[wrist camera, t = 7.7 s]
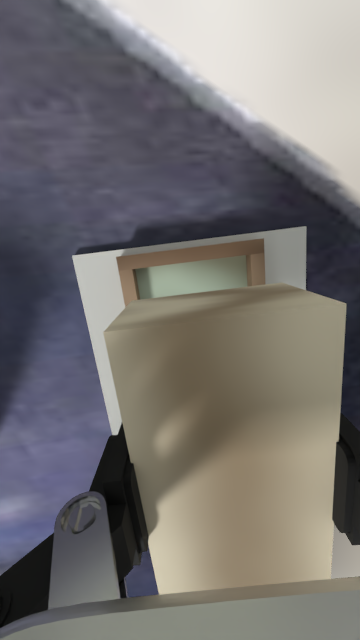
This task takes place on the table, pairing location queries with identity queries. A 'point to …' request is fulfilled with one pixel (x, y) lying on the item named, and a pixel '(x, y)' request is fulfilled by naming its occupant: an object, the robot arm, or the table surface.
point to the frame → (192, 270)
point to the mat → (102, 270)
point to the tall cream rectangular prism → (232, 431)
